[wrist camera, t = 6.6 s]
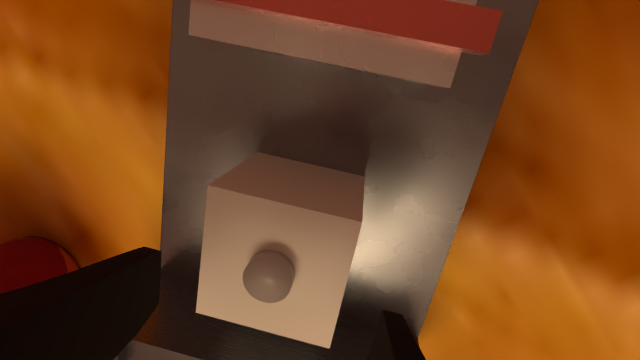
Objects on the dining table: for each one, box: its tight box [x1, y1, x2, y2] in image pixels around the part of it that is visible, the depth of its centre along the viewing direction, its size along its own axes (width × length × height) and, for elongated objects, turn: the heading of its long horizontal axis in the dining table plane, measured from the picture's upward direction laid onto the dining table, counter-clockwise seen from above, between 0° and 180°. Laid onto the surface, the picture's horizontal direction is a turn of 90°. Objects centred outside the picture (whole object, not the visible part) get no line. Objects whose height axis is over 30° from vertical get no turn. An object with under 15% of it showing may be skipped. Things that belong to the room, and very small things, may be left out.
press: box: [114, 0, 539, 360], centre depth 13 cm, size 14×18×6 cm
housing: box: [196, 152, 365, 349], centre depth 13 cm, size 5×5×6 cm
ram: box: [188, 0, 503, 88], centre depth 11 cm, size 9×3×5 cm, turn 80°
